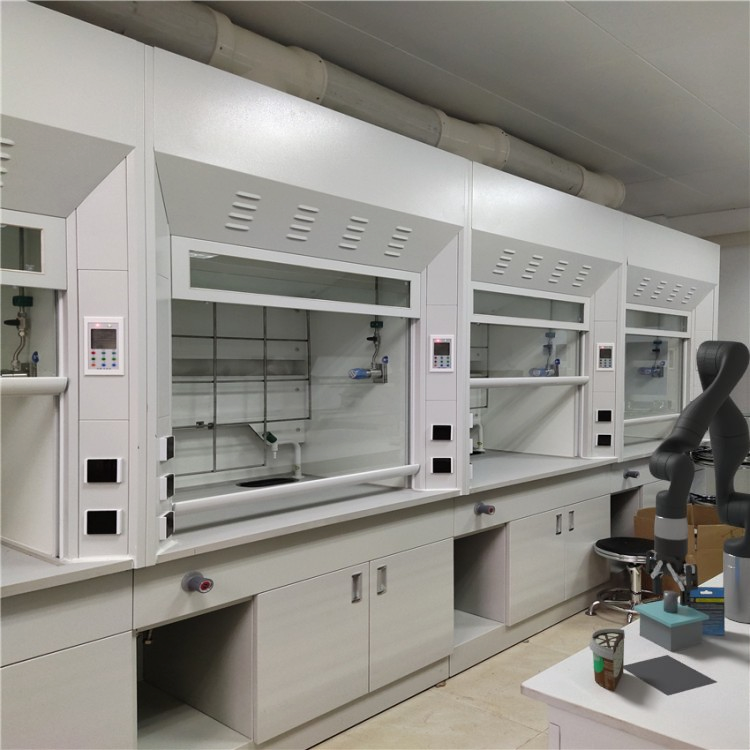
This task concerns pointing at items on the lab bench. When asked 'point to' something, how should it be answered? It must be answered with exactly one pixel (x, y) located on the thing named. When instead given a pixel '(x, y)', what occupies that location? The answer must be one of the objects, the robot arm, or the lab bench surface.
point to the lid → (671, 611)
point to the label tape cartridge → (710, 609)
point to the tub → (671, 634)
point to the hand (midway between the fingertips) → (670, 599)
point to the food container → (608, 656)
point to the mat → (668, 675)
